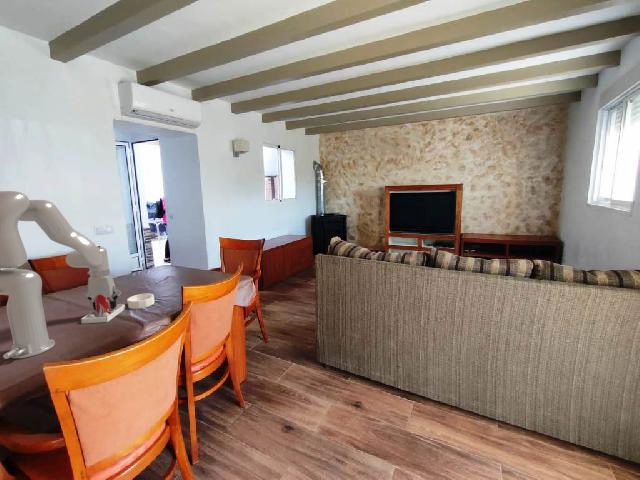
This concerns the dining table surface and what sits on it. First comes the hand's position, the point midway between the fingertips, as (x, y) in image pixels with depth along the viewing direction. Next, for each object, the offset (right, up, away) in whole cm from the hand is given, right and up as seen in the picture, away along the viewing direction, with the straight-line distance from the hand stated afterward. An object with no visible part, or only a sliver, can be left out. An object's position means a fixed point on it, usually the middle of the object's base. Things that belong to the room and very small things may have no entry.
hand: (105, 308), depth 145 cm
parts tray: (0, -3, 0) cm, 4 cm away
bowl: (+10, -1, +14) cm, 17 cm away
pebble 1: (-2, -4, -6) cm, 7 cm away
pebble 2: (+4, -4, -5) cm, 7 cm away
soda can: (0, -3, +1) cm, 3 cm away
